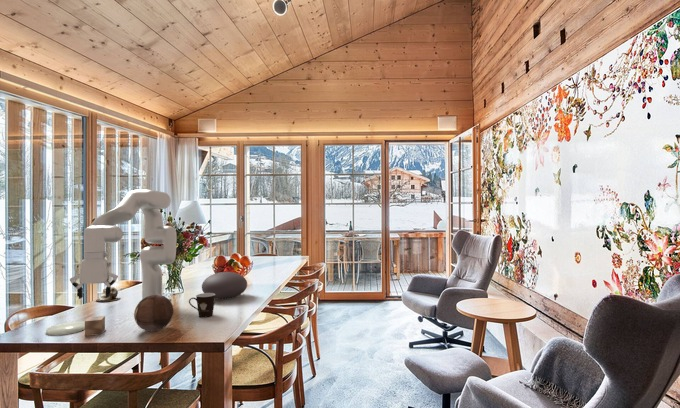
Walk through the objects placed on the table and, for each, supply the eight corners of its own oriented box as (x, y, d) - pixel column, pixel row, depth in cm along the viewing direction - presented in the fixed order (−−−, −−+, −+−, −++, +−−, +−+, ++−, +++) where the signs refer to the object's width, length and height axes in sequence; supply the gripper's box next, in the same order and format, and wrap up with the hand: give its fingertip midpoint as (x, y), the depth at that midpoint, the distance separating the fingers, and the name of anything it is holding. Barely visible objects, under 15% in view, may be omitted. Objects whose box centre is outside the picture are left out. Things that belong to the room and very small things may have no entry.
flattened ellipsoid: (202, 295, 228) (202, 270, 228) (245, 292, 236) (245, 267, 236) (200, 305, 205) (200, 277, 205) (248, 301, 212) (248, 274, 212)
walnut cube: (104, 329, 165) (104, 315, 165) (101, 334, 160) (101, 319, 160) (88, 331, 163) (88, 317, 163) (84, 335, 158) (84, 321, 158)
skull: (109, 301, 211) (99, 287, 213) (99, 313, 213) (88, 298, 215) (127, 295, 223) (116, 282, 224) (116, 306, 225) (106, 293, 226)
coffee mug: (219, 314, 187) (219, 293, 187) (206, 319, 180) (205, 297, 180) (201, 311, 192) (200, 291, 192) (187, 316, 184) (187, 295, 184)
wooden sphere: (174, 323, 173) (174, 290, 174) (171, 333, 159) (171, 297, 159) (137, 327, 169) (137, 292, 169) (131, 338, 154) (130, 300, 155)
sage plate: (92, 322, 176) (92, 320, 176) (83, 332, 161) (83, 329, 161) (53, 326, 170) (53, 323, 170) (40, 337, 156) (40, 334, 156)
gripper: (119, 254, 168) (119, 293, 168) (73, 256, 162) (72, 297, 162) (116, 256, 161) (116, 297, 161) (67, 258, 155) (66, 300, 155)
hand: (94, 297), depth 161 cm, fingers open, 9 cm apart
